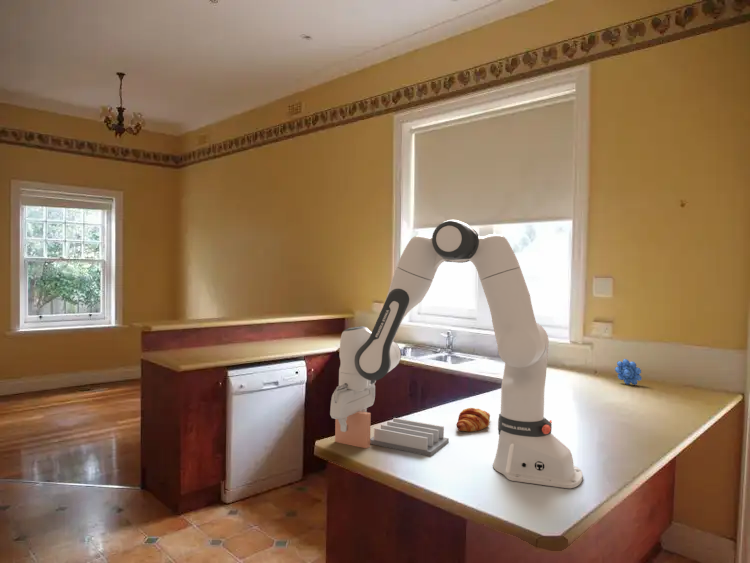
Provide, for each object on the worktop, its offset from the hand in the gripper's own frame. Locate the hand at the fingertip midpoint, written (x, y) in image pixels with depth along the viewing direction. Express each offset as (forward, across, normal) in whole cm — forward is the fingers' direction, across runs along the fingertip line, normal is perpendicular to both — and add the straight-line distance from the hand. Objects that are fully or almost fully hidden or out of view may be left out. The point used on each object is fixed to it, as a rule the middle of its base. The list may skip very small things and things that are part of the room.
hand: (352, 426), depth 156 cm
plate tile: (+5, 0, 0) cm, 5 cm away
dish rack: (+5, +10, -14) cm, 18 cm away
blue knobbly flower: (+5, +141, -67) cm, 156 cm away
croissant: (+6, +37, -26) cm, 46 cm away
